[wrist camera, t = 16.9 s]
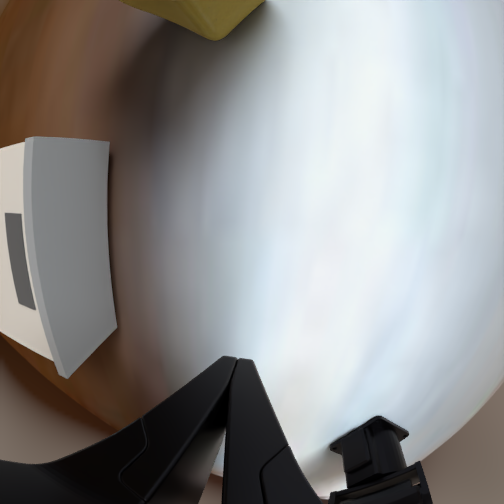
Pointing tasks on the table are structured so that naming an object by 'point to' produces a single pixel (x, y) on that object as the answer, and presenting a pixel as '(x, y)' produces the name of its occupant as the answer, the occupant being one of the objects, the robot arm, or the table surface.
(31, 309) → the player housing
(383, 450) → the robot arm
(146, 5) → the flower pot
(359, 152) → the table surface
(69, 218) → the grey sliding drawer
